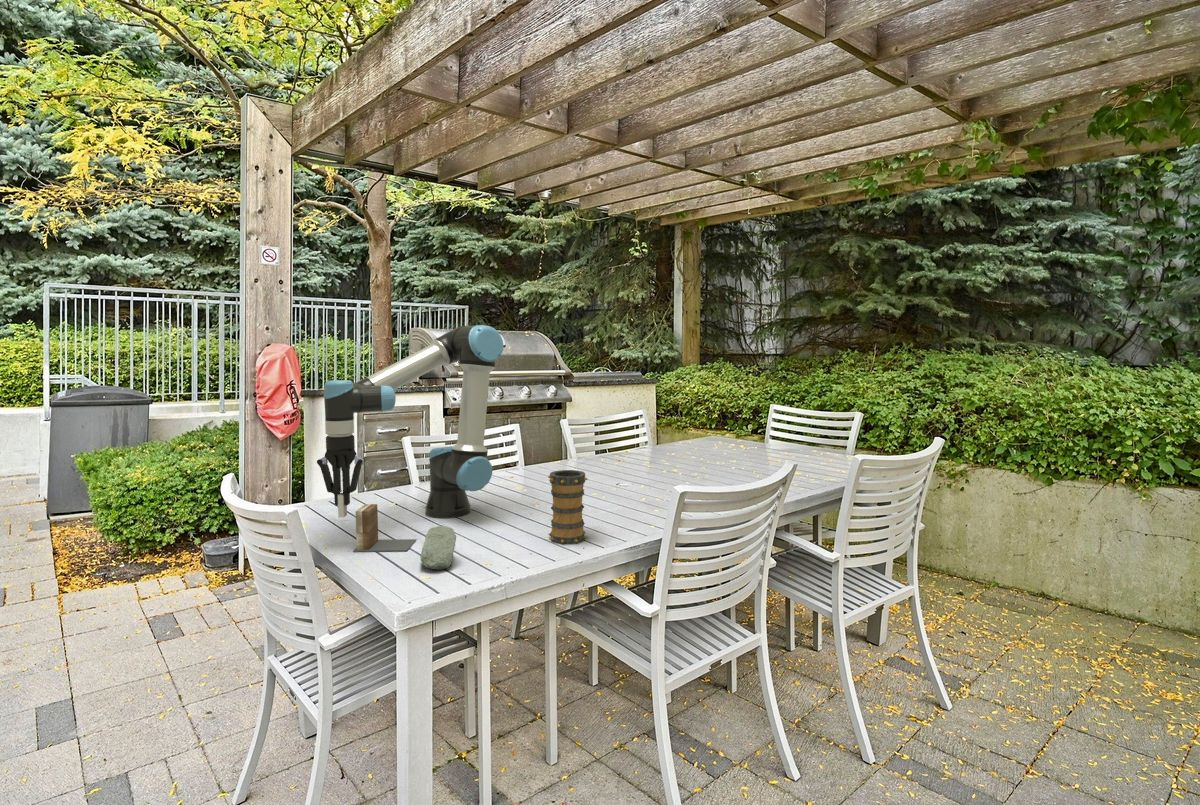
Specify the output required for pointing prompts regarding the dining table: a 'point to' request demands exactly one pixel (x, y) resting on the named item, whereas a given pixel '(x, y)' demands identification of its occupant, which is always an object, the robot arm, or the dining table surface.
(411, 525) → the dining table surface
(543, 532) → the dining table surface
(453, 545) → the decorative stone
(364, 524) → the slab
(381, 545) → the mat
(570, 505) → the mug
